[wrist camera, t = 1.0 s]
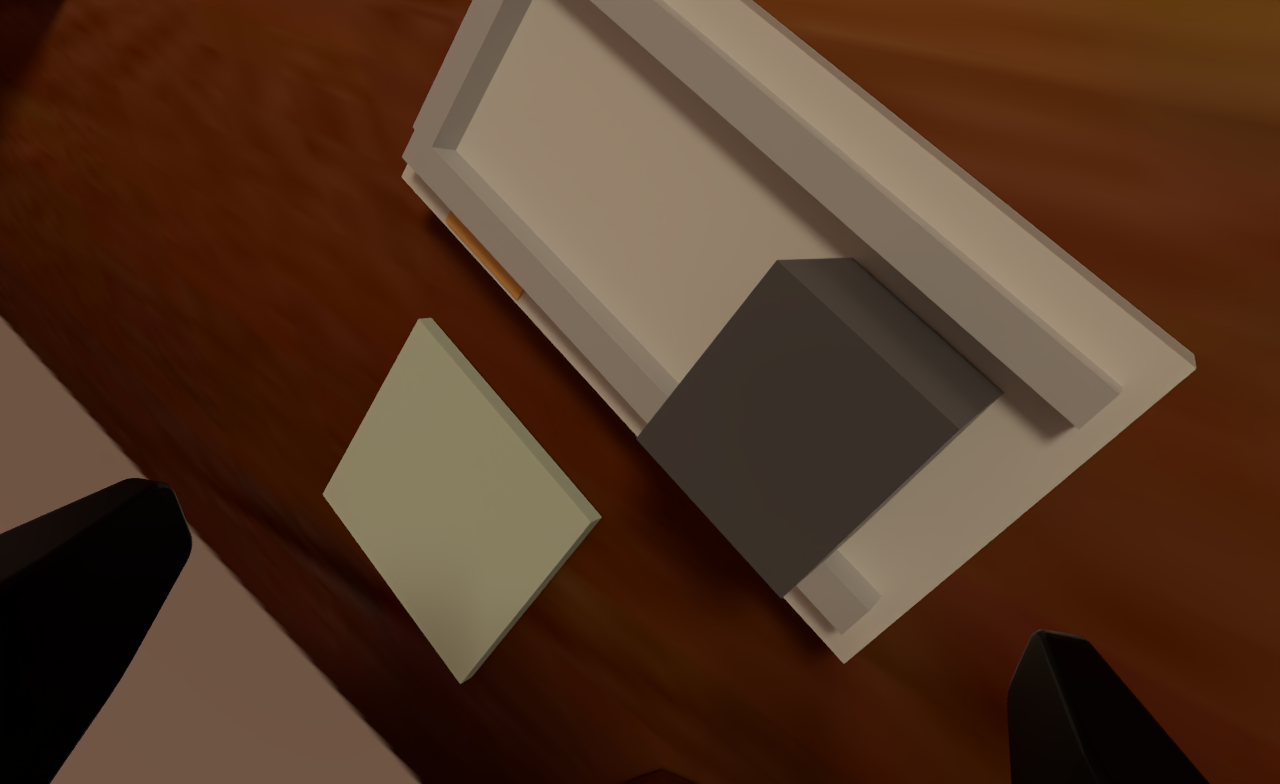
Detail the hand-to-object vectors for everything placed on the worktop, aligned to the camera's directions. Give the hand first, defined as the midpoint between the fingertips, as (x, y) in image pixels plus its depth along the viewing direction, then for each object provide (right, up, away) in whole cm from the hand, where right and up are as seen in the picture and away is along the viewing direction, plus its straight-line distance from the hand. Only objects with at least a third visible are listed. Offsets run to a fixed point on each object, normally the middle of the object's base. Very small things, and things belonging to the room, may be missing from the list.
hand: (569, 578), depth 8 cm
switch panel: (+3, +5, +10) cm, 12 cm away
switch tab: (+5, +2, +7) cm, 9 cm away
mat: (-5, -2, +17) cm, 18 cm away
